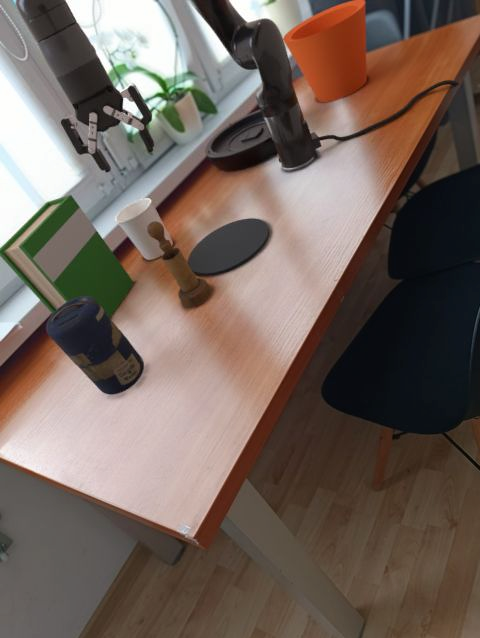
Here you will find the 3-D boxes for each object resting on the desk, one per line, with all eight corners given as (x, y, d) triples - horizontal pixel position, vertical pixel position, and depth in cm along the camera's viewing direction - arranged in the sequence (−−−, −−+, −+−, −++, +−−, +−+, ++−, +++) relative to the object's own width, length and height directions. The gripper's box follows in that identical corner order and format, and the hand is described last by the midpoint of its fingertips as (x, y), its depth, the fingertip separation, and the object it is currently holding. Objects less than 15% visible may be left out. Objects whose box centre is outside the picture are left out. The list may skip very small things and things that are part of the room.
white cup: (181, 235, 124) (157, 194, 117) (166, 259, 118) (139, 217, 111) (152, 241, 129) (127, 202, 121) (135, 264, 123) (108, 224, 115)
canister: (107, 369, 94) (46, 301, 83) (149, 352, 93) (93, 280, 81) (99, 405, 87) (31, 336, 76) (145, 387, 85) (83, 314, 74)
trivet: (261, 210, 116) (260, 207, 116) (277, 249, 101) (276, 246, 100) (187, 245, 119) (186, 243, 118) (191, 288, 103) (190, 285, 103)
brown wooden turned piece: (206, 304, 97) (160, 229, 85) (179, 310, 99) (131, 238, 88) (214, 283, 101) (171, 209, 90) (188, 289, 104) (143, 218, 92)
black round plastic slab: (198, 183, 146) (288, 160, 131) (189, 164, 142) (280, 138, 127) (232, 136, 164) (314, 111, 149) (224, 119, 160) (308, 92, 146)
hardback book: (98, 335, 105) (21, 245, 90) (74, 337, 108) (-4, 251, 93) (134, 282, 116) (70, 194, 101) (111, 286, 119) (46, 202, 104)
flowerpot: (388, 83, 142) (372, 7, 130) (307, 117, 148) (284, 48, 136) (373, 62, 160) (357, -6, 148) (301, 94, 167) (281, 31, 154)
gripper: (31, 88, 74) (92, 184, 84) (113, 47, 72) (166, 150, 83) (40, 79, 80) (97, 170, 90) (117, 41, 78) (166, 138, 88)
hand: (130, 160), depth 86 cm, fingers open, 8 cm apart
